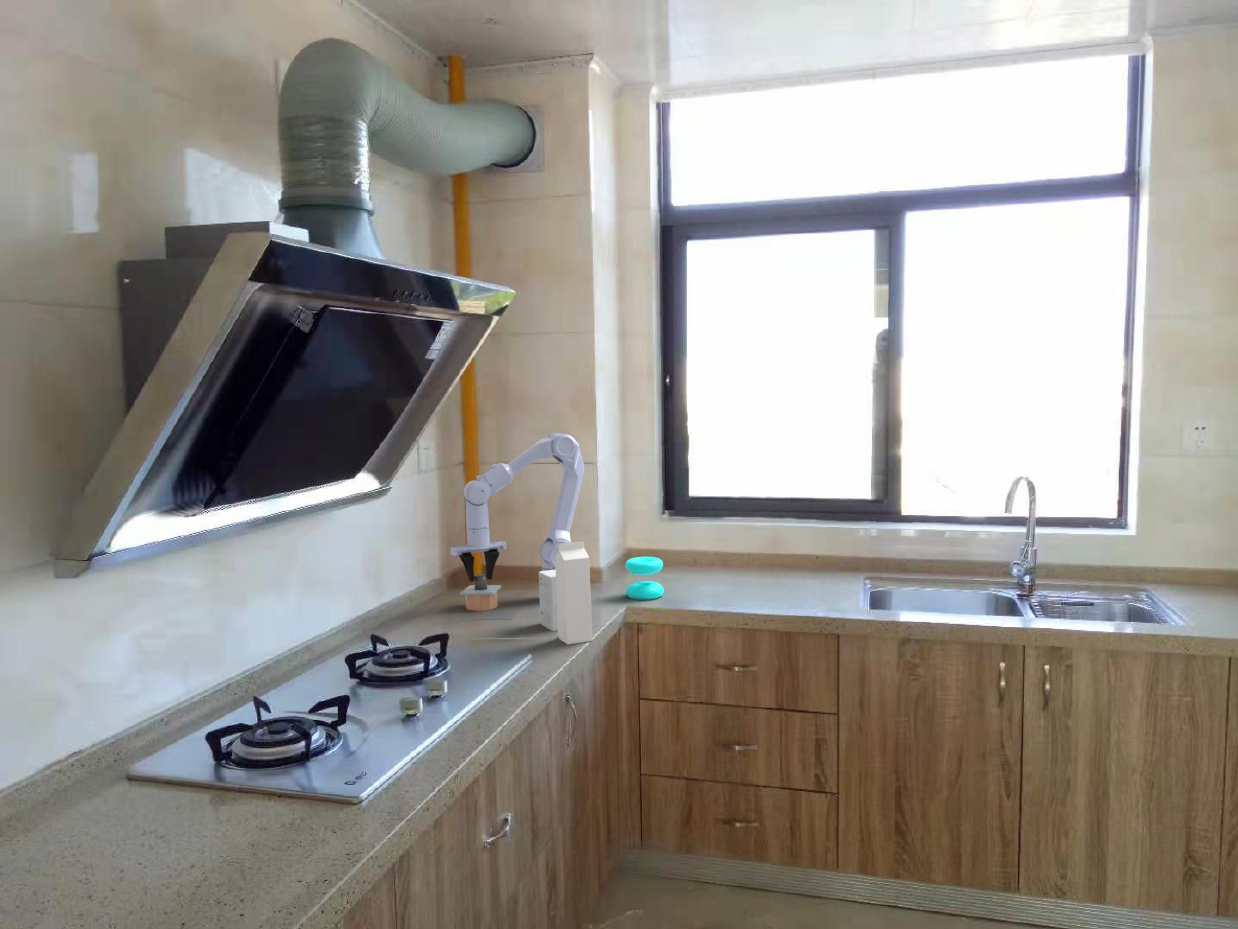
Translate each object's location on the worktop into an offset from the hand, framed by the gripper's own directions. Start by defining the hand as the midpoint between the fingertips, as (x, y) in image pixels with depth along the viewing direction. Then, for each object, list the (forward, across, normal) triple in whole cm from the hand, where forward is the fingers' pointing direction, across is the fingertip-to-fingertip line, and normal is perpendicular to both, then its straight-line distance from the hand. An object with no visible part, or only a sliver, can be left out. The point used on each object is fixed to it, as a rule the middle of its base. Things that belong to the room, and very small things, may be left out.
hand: (480, 580), depth 244 cm
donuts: (+8, -41, +14) cm, 44 cm away
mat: (+7, 0, +11) cm, 13 cm away
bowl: (+7, 0, 0) cm, 7 cm away
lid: (+3, 0, 0) cm, 3 cm away
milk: (+8, -6, +41) cm, 42 cm away
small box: (+8, -8, +29) cm, 31 cm away
